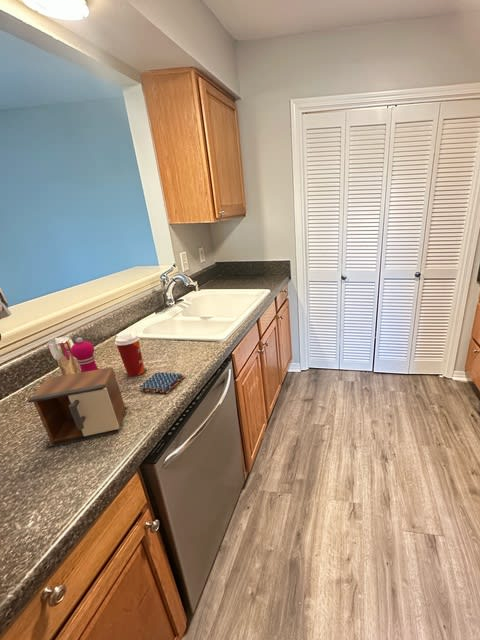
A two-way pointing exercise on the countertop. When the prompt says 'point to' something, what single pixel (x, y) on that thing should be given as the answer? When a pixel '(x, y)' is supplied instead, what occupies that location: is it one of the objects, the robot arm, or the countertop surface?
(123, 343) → the paper cup
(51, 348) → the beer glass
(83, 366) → the pepper mill
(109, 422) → the sliding door
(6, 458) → the countertop surface
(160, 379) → the woven mat
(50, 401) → the cabinet
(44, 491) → the countertop surface
